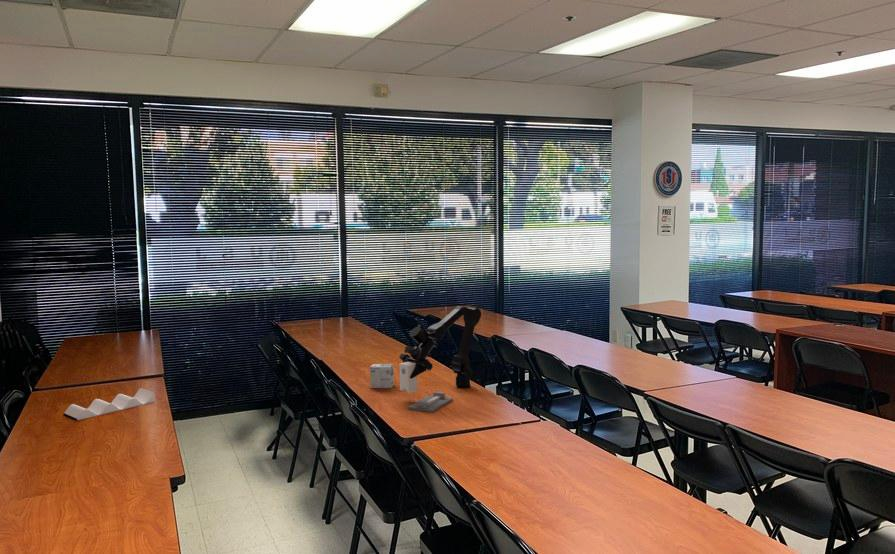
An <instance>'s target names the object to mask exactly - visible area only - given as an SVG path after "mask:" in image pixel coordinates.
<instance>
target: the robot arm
mask: <svg viewBox="0 0 895 554" xmlns="http://www.w3.org/2000/svg"><path fill="white" fill-rule="evenodd" d="M461 317H463V318H462V319H463V322H464V327H463V332H462V336H461V339H460V344H459V349H458V352H457V353H456V354H455V355H454V354H453V355H452V359H451V362H450V363H451V369H452V371H453V374H456V376H455V386H456V387H457V388H459V389H462V388H463V389H464V388H471V376H472V375H473V374H474V369H473V368H472V367H471V366H470V357H469V352H470V349H471V348H470V347H471V345H472V344H471V343H472V340H473V335H474V330H475V327H476V326H477V324H478V323H479V322H480V319H481V317H482V310H481V309H480V308H477V307H471V306H470V307H469V306H468V307H465V306H460V305H457V306H455V307H454V309H453V310H452V311H450V313H448V314H447V315H446V316H445V317H444V318H443V319H441V320H440V321H439V322H436V323H434V324H431V325H430V326H428V328H424V327H423V325H421V324H418V325H417V326H415V327H414V328H413V329H411V330H410V332H409V335H410V337H411V338H412V339H413V340H414V341H415V342H416V343H417V344H419V345H418V346H416V345H415V346H414V347H413V346H409V345H405V348H404V351H403V352H404V353H401V354H399V359H400V360H401V361H402V363H404V362H411V363H415V364H416V367H415V369H414V370H413V372H412V374H411V376H410V378H411V379H412V378H414V377H415V376H417V377H418V376H419V375H420V374H423V373H424V372H427V371H429V372H430V371H432V369H433V364H432V362H430V360H429V359H428V358H430V356H431V355H429V354H430V353H431V351H432V350H433V348H439V347H438V341H439V340H441V339H443V338H444V336H445V335H446V333H447V330H448V329H449V328H450V327H451V326H452V325H453V324H455V323H456V322H457V321H458V320H459V319H460V318H461ZM436 340H438V341H436Z"/></svg>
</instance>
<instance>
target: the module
mask: <svg viewBox="0 0 895 554" xmlns="http://www.w3.org/2000/svg"><path fill="white" fill-rule="evenodd" d="M398 367H399V390H400V391H406V393H408V394H410V393H414V392H418V375H417V376H415V377H414V378H412V379H411V378H410V376H411V374H412V372H413V370H414V369H415V367H416V363H411V362H404V363H403V362H400V363H399V364H398Z"/></svg>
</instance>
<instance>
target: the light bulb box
mask: <svg viewBox="0 0 895 554" xmlns="http://www.w3.org/2000/svg"><path fill="white" fill-rule="evenodd" d="M369 370H370V373H369V377H370V389H392V387H393V386H394V384H395V381H394V378H395V377H394V364H393V363H380V364H379V363H373V364H372V365H371V366H369Z"/></svg>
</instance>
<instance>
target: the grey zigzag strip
mask: <svg viewBox="0 0 895 554" xmlns="http://www.w3.org/2000/svg"><path fill="white" fill-rule="evenodd" d="M151 403H155V392H154V391H152V390H148V389H145V388H143V387H139V388H138V390H137V392H136V393H135V395H134V396H133V397H132V396H128V395H125V394H123V393H118V394H116V396H115V397H114V399H112V401H111V402H108V401H105V400H102V399H100V398H95V399H93V401H91V404H89V406H88V407H87V408H86V407H83V406H79V405H77V404H75V403H72V404H70V405H69V406H68V407H67V408H66V410H65V412H64V413H63V414H62V416H64V417H66V418H68V419H71V420H73V421H75V422H76V421H80V420H85V419H89V418H93V417H97V416H101V415H105V414H108V413H115V412H118V411H121V410H127V409H131V408H134V407H135V408H136V407H140V406H143V405H146V404H151Z"/></svg>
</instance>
